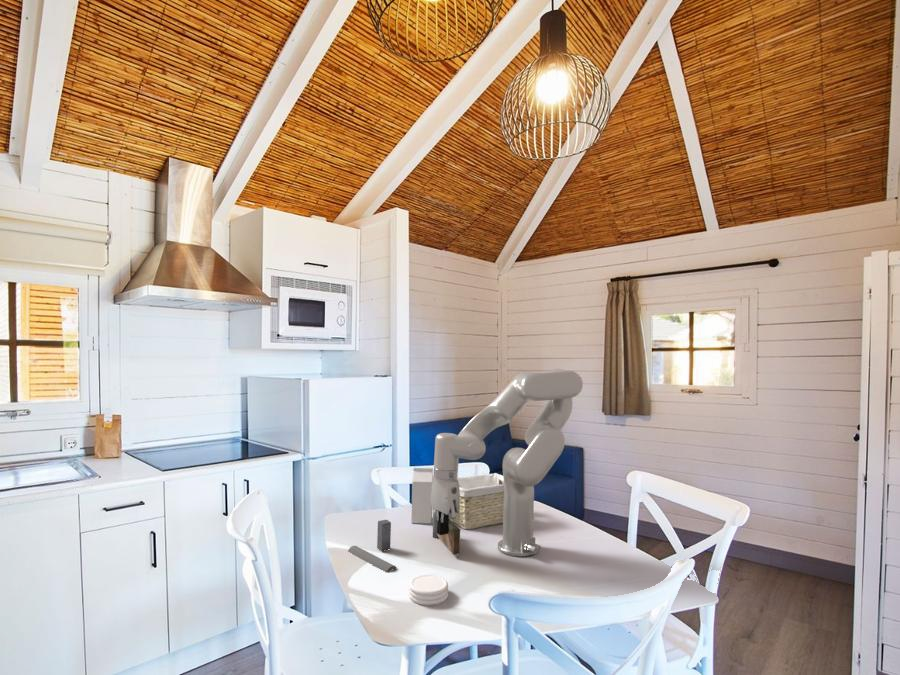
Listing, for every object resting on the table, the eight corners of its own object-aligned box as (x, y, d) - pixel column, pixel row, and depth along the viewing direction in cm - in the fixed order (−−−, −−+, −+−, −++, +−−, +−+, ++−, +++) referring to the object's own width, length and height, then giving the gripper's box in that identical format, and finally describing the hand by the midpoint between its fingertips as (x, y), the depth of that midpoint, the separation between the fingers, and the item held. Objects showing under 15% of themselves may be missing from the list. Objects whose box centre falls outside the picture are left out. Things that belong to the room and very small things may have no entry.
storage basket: (462, 532, 172) (463, 489, 172) (441, 517, 186) (442, 477, 187) (519, 522, 183) (520, 482, 183) (495, 509, 197) (496, 472, 198)
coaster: (449, 606, 122) (449, 591, 122) (408, 606, 122) (409, 592, 122) (446, 586, 132) (446, 573, 132) (408, 587, 132) (409, 573, 132)
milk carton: (431, 524, 179) (432, 470, 179) (411, 523, 179) (412, 470, 179) (432, 517, 186) (433, 466, 186) (413, 516, 186) (414, 465, 186)
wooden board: (436, 535, 165) (436, 513, 165) (442, 534, 165) (442, 512, 166) (453, 554, 150) (453, 530, 150) (459, 553, 150) (460, 529, 151)
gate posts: (443, 537, 167) (444, 507, 167) (381, 551, 153) (382, 519, 154) (438, 534, 169) (439, 504, 169) (377, 548, 156) (378, 516, 156)
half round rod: (358, 549, 156) (358, 544, 156) (397, 570, 142) (398, 564, 142) (346, 553, 153) (347, 547, 153) (385, 574, 139) (386, 568, 139)
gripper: (469, 478, 151) (466, 539, 150) (442, 467, 163) (439, 524, 162) (449, 481, 146) (446, 544, 146) (422, 469, 159) (419, 527, 158)
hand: (442, 533), depth 154 cm, fingers closed
